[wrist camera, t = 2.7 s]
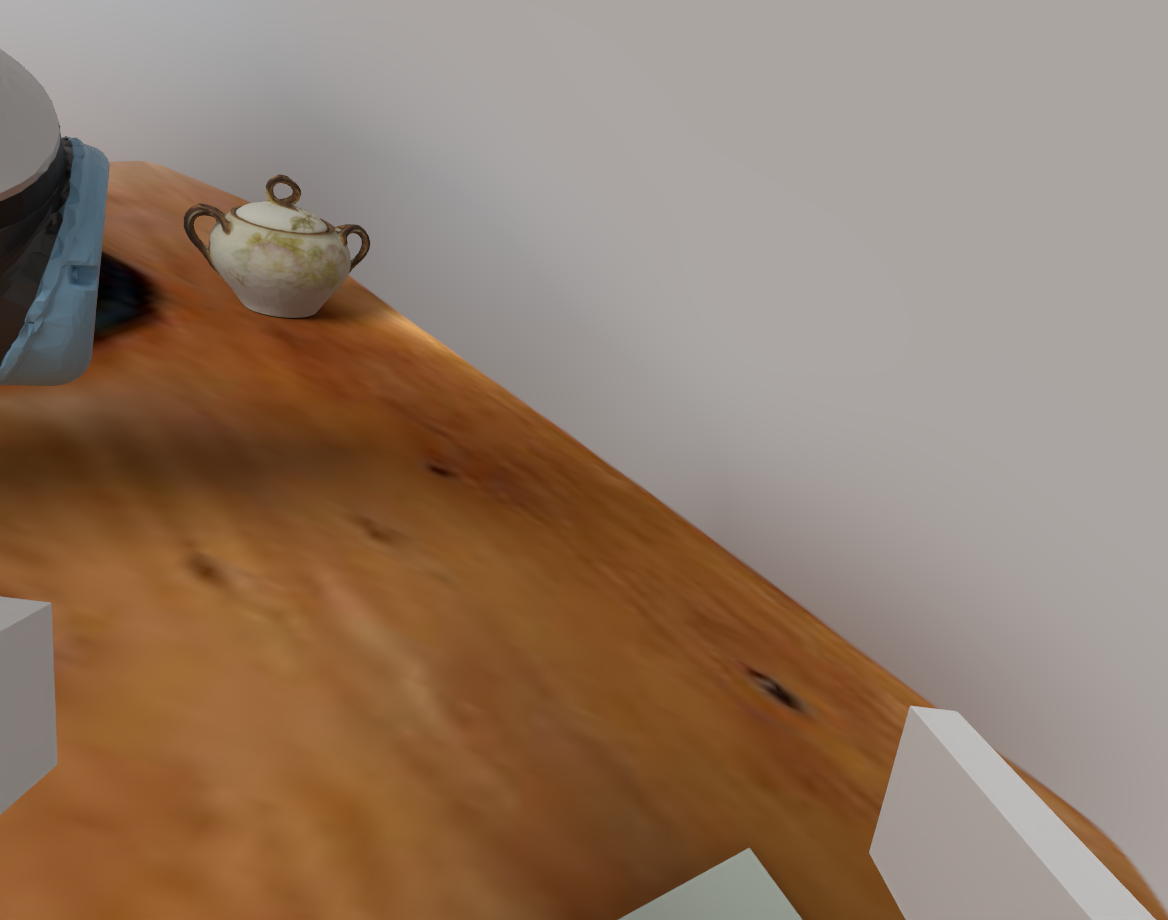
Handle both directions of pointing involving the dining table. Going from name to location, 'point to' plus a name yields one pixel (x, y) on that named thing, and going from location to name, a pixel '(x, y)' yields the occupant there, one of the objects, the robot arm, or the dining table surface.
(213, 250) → the sugar bowl
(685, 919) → the socket block
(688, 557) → the dining table surface
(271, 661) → the dining table surface
